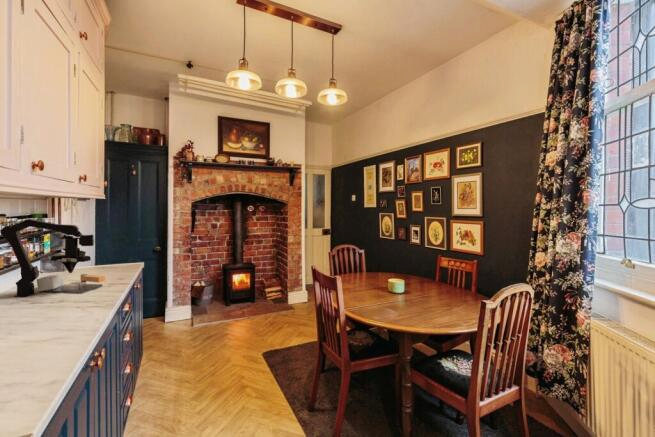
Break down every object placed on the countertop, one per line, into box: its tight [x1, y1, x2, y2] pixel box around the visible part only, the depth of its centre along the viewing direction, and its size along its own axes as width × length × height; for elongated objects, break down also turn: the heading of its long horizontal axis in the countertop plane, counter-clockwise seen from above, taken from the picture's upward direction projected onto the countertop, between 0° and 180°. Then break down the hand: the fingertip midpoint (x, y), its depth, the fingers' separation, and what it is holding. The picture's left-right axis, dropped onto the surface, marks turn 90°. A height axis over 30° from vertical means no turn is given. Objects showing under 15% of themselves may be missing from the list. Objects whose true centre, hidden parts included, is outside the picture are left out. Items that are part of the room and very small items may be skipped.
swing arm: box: [80, 273, 106, 284], centre depth 183 cm, size 16×4×3 cm, turn 77°
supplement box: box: [36, 273, 65, 292], centre depth 176 cm, size 7×7×13 cm
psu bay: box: [46, 280, 103, 294], centre depth 178 cm, size 16×20×4 cm
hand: (70, 272), depth 174 cm, fingers closed
